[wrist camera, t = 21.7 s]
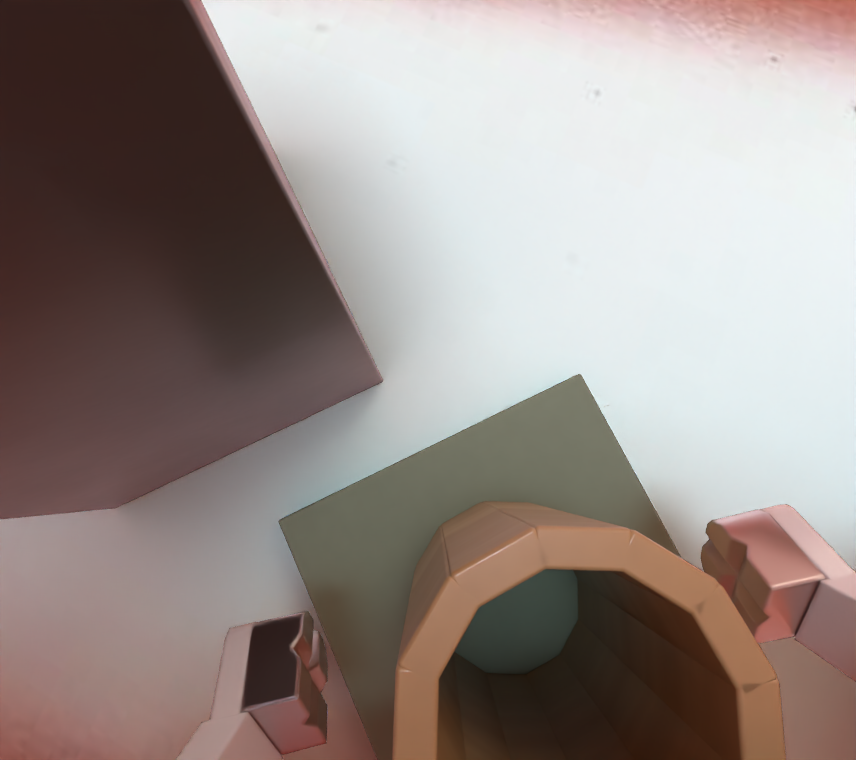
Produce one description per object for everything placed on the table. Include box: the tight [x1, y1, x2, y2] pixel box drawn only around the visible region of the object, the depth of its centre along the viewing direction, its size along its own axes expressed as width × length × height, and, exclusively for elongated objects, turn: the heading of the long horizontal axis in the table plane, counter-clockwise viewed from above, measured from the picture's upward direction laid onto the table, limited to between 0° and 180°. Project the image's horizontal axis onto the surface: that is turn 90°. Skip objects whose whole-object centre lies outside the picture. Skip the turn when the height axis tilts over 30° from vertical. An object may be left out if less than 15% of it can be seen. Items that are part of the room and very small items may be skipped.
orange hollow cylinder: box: [392, 501, 786, 760], centre depth 11 cm, size 5×5×8 cm
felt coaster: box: [279, 374, 681, 760], centre depth 15 cm, size 10×8×1 cm
